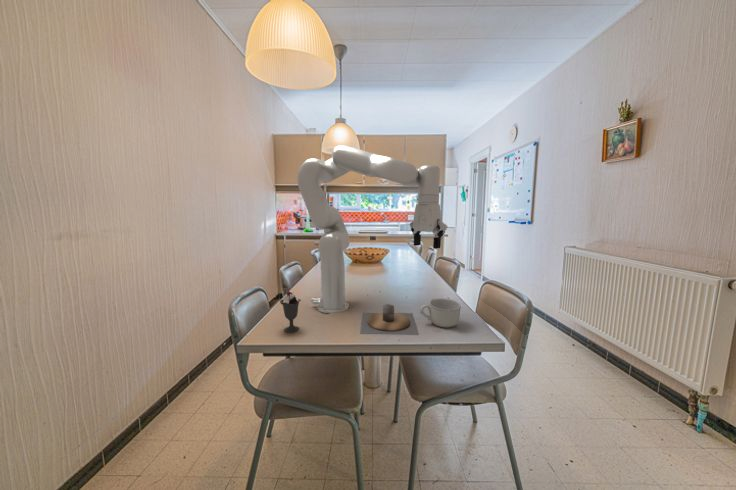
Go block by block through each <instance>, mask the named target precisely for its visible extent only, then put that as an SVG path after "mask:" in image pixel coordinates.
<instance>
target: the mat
mask: <svg viewBox="0 0 736 490" xmlns="http://www.w3.org/2000/svg"><path fill="white" fill-rule="evenodd" d="M376 313H377V312H365V311H364V312H362V319H361V323H360V324H361V326H360V331H359V332H360V333H359V335H398V336H399V335H402V336H405V335H406V336H410V335H411V336H418V335H420V334H419V330H418V327H417V325H416V321H415V317H414V314H413V313H412V312H398V313H399V314H402V315H405V316H406V317H408V318H409V320H410V325H409V326H408V327H407V328H406V329H403V330H400V331H392V332H388V331H380V330H376V329H373V328H371V327H370V326H369V325H368V324H367V319H368V317H369V316H371V315H373V314H376Z"/></svg>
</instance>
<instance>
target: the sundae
mask: <svg viewBox="0 0 736 490" xmlns="http://www.w3.org/2000/svg"><path fill="white" fill-rule="evenodd" d="M285 288H287V291H286V295H284V297H283V299H281V300H279V301H280V302H279V303H280V304H281V305H282V308H283V314H284V317H285V318H286V319H287V321H289V326H287V327H285V328H284V329H283V331H284V332H285V333H291V334H292V333H296V332H298V331H299V330H300V327H299V326H296V325H295V324H294V320H295V319H296V318H297V317H298V312H299V304H300V302H301V301H302V300H301V299H300V298H298V297H296V295H295V294H294V293H293V292H291V291H290V290H289V287H288V285H285Z"/></svg>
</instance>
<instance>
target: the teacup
mask: <svg viewBox="0 0 736 490" xmlns="http://www.w3.org/2000/svg"><path fill="white" fill-rule="evenodd" d="M425 308H427V309H428V314H426V313H425V311H424V309H425ZM461 309H462V305H461V304H460V303H459V302H458V301H456V300H453V299H449V298H442V297H441V298H440V297H438V298H432V299H430V301H429V303H427V304H425V303H424V304H422V305H421V306H420V309H419V310H420V314H421V315H422V316H423V317H424V318H426V319H427V320H428V321H430V322H431V323H432V324H433V325H434V326H436V327H439V328H447V329H448V328H452V327H455V326H456V325H458V323H459V322H460V318H461V317H460V315H461Z"/></svg>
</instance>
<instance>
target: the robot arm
mask: <svg viewBox="0 0 736 490" xmlns="http://www.w3.org/2000/svg"><path fill="white" fill-rule="evenodd" d="M440 169H441V168H440V166H439V165H434V164H427V165H425V164H424V165H422V166H420V167H416V166H415V165H414V164H413V163H411V162H407V161H405V160H401V159H397V158H393V157H390V156H385V155H380V154H378V153H373V152H370V151H366V150H363V149H359V148H357V147H353V146H351V145H345V144H340V145H336V146H335V147H334V148H333V150H332V151H331V158H328V159H327V160H326V161H324V160H322V159H319V158H315V157H314V158H313V157H312V158H308V159H306V160H305V161H304V162H303V163H302V164H301V166H300V167H299V168H298V171H297V178H296V181H297V186H298V189H299V192H300V195H301V196H302V197H301V198H302V199H303V201H304V202H303V203H304V205H305V207H306V210H307V213H308V215H309V219H310V220H311V223H312V224H313V226H314V228H316V229H318V230H323V232H324V233H323V234H322V235H321V237H320V238H319V241H318V252H319V258H320V261H319V262H320V284H321V286H320V287H321V288H320V291H321V293H320V294H321V296H320V297H310V298H311V299H310V303H311V304H312V305H317V310H318V311H319V312H321V313H324V314H335V313H336V314H337V313H342V312H345V311H347V310H348V309H349V307H350V305H349V303H348V302H346V287H345V286H346V280H345V279H346V278H345V276H346V274H345V272H346V271H345V269H346V268H345V267H346V266H345V257H344V251H345V250H347V249H348V248H349V246H350V243H351V239H350V236H349V235H350V234H349V232H348V230H347V227H346V224H345V222H344V220H343V217H342V215H341V213H340V211H339V210H338V209H337V208H336V207H335V206H331V205H330V204H329V203H328V200H327V197H326V195H325V192H324V190H323V189H322V187H321V184H320V183H322V184H328V183H331V182H333V181H335V180H336V179H337V180H338V179H339V178H340V177H343V176H344V175H347V174H348V173H350V172H352V173H357V174H360V175H362V176H366V177H370V178H380V179H384V180H388V181H392V182H394V183H398V184H400V185H402V186H403V187H405V188H406V187H407V188H410V187H417V198H416V201H417V203H416V204H415V207H414V214H413V221H410V222H409V227H410V231H411V232H412V235H413V246H414V247H415V246H420V245H421V244H422V243H421V238H422V236H421V235H422V234H421V233H422V232H427V233H431V232H432V234H433V236H434V237H433V241H432V242H433V245H432V246H433V247H432V248H433V249H440V248H441V245H442V238H443V235H444V234H445V233H446V231H447V229H448V224H446V223H445V222H443V221H442V211H441V204H439V199H440V198H439V197H440V178H441V176H440V175H441V170H440Z"/></svg>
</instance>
